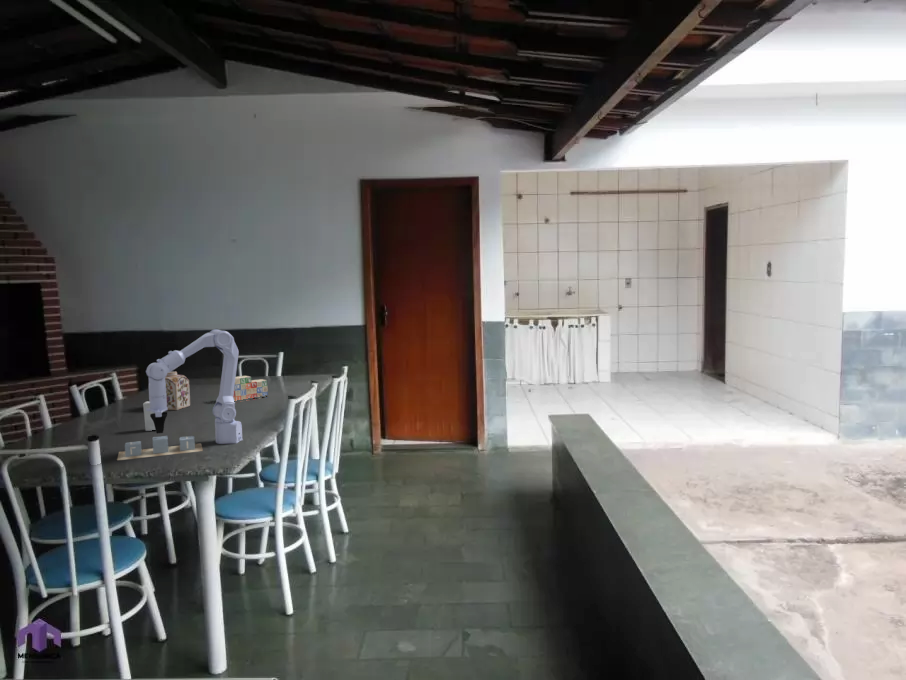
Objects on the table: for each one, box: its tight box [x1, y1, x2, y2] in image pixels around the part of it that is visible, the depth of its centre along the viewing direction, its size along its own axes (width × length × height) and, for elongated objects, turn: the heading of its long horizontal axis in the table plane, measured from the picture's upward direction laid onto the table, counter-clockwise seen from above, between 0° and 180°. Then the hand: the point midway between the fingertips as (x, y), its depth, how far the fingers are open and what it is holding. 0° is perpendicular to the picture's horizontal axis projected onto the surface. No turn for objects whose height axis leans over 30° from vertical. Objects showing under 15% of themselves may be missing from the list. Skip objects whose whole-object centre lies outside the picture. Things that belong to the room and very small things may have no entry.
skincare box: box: [142, 401, 155, 432], centre depth 276 cm, size 6×4×12 cm
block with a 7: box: [124, 440, 142, 457], centre depth 235 cm, size 5×5×4 cm
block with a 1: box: [179, 435, 196, 451], centre depth 242 cm, size 5×5×4 cm
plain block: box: [152, 435, 169, 454], centre depth 239 cm, size 5×5×5 cm
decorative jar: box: [165, 370, 191, 411], centre depth 323 cm, size 12×12×18 cm
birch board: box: [116, 443, 203, 461], centre depth 239 cm, size 28×12×1 cm, turn 114°
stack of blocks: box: [233, 375, 269, 401], centre depth 344 cm, size 21×6×12 cm, turn 133°
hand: (159, 432), depth 238 cm, fingers closed
